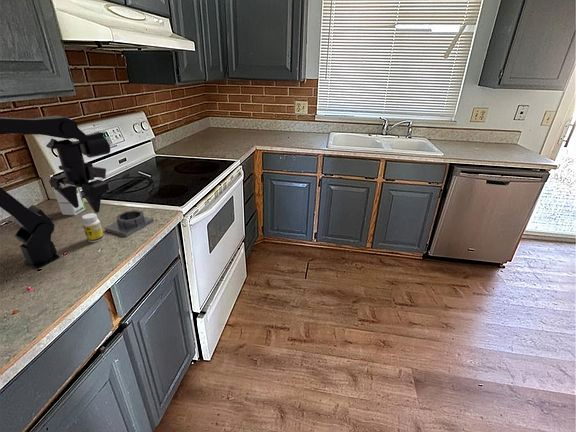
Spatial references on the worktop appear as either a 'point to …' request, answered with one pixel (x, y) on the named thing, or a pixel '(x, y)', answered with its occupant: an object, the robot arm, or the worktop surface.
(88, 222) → the supplement bottle
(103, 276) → the worktop surface
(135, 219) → the socket plate
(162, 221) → the worktop surface
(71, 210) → the syrup box
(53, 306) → the worktop surface
